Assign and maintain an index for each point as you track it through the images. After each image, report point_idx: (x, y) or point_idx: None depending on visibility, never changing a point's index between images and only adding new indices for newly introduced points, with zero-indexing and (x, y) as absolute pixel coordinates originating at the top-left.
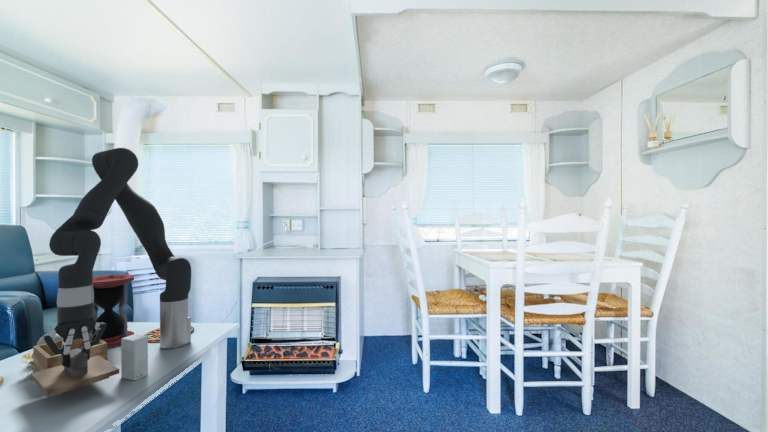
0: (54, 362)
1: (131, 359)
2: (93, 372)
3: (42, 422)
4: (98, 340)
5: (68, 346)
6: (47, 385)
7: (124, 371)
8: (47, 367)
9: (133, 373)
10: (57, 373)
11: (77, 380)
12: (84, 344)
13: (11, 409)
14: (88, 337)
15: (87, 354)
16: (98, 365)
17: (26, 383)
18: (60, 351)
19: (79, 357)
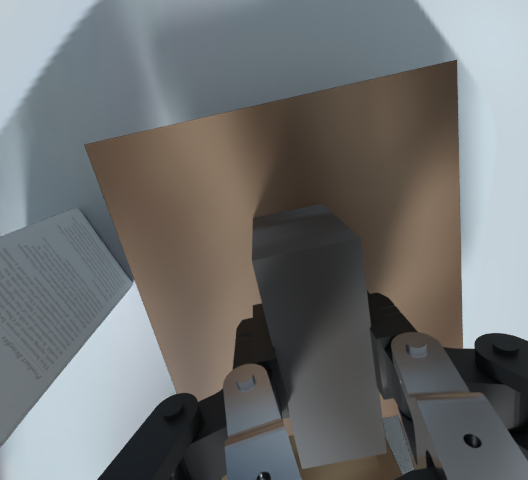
0: (372, 471)
1: (21, 263)
2: (224, 202)
3: (409, 31)
4: (144, 434)
5: (429, 394)
6: (438, 170)
7: (105, 278)
8: (391, 451)
9: (63, 222)
10: None
11: (306, 125)
12: (275, 402)
13: (468, 258)
14: (234, 475)
15: (249, 344)
16: (198, 302)
17: (407, 446)
18: (470, 366)
19: (311, 247)
